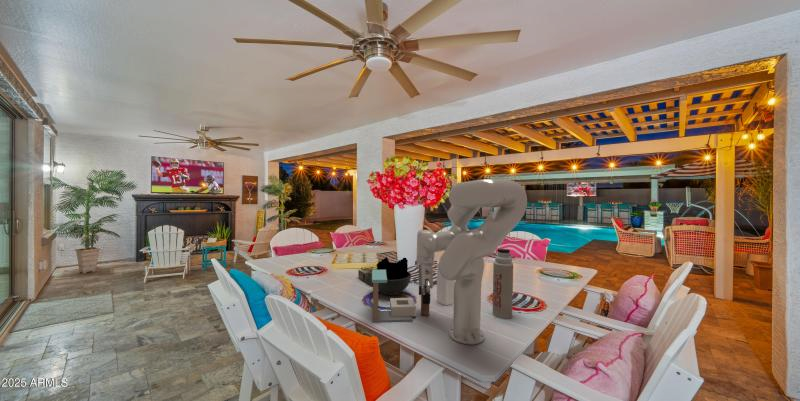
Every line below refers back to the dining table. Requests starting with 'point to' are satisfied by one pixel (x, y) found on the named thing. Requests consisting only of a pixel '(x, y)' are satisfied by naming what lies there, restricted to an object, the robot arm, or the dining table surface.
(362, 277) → the juice carton
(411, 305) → the socket station
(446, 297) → the milk
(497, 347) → the dining table surface
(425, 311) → the peg
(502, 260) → the thermos bottle
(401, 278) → the coal bowl
